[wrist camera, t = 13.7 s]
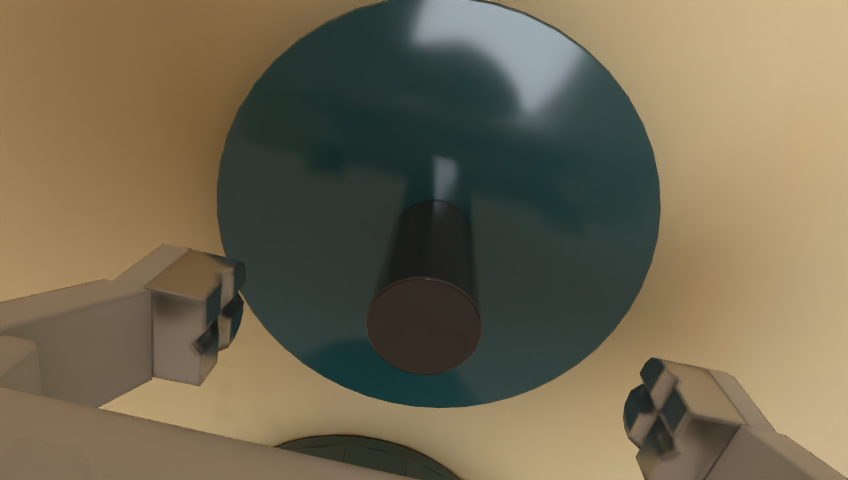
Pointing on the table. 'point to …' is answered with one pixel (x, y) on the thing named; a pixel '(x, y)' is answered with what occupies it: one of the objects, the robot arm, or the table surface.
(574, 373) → the table surface
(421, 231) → the lid
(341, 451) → the pot
